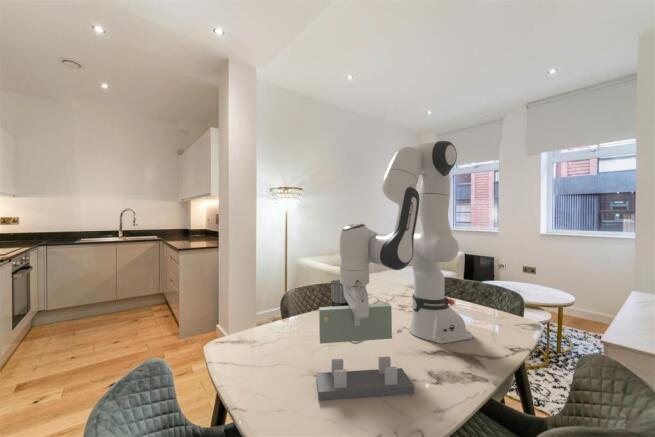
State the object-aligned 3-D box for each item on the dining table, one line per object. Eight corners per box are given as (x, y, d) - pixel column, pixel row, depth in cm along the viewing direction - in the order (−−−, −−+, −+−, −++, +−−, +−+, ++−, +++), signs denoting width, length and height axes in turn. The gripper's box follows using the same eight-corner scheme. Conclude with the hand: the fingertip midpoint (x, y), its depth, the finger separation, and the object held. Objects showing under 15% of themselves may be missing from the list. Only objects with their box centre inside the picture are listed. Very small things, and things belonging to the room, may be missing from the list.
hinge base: (401, 375, 75) (401, 353, 75) (414, 393, 67) (414, 370, 67) (316, 380, 73) (316, 358, 73) (318, 400, 65) (318, 375, 65)
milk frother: (328, 316, 120) (328, 283, 120) (335, 305, 135) (335, 275, 135) (360, 319, 117) (360, 285, 116) (363, 307, 132) (363, 277, 132)
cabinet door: (389, 335, 85) (388, 303, 85) (393, 340, 81) (393, 307, 81) (319, 339, 82) (319, 307, 82) (320, 346, 78) (320, 311, 78)
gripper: (374, 285, 72) (375, 336, 72) (357, 270, 92) (358, 310, 93) (351, 286, 71) (352, 338, 72) (339, 270, 92) (340, 311, 92)
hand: (355, 322), depth 82 cm, fingers closed on cabinet door, 2 cm apart
